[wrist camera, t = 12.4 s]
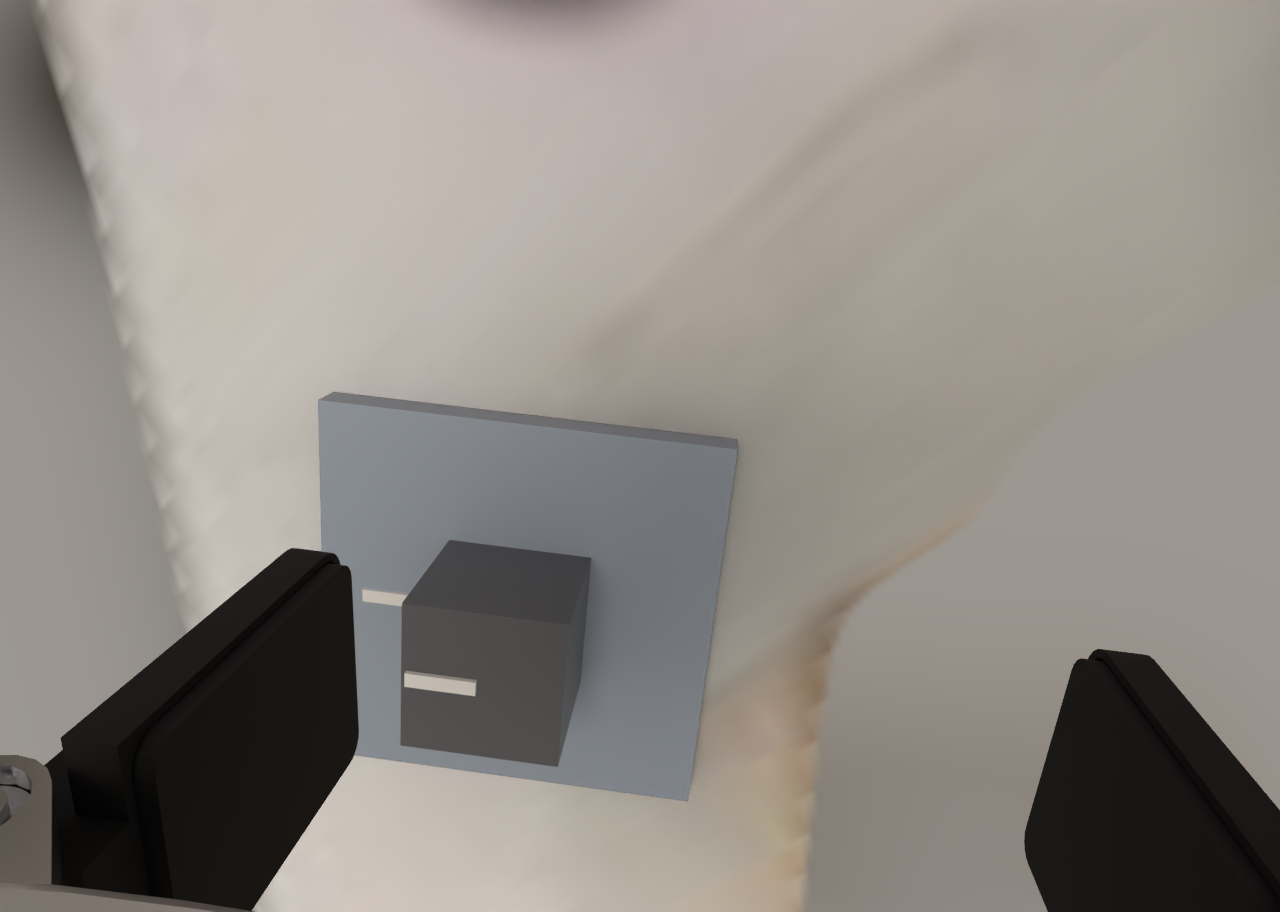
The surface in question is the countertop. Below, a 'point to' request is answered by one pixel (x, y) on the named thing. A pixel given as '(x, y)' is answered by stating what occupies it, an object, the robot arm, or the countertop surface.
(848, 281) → the countertop surface
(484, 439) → the hub panel
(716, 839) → the countertop surface
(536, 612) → the dark gray cube
